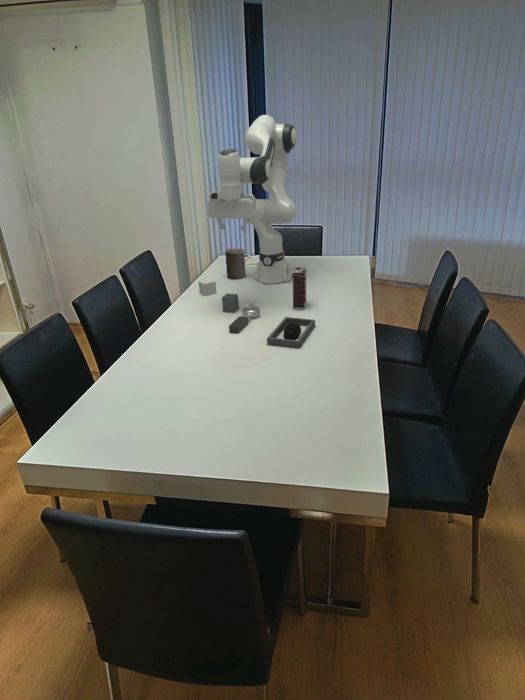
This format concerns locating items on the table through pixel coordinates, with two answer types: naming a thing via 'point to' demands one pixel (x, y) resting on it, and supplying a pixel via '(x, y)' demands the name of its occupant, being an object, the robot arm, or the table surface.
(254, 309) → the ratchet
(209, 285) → the light grey cube
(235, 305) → the blue gray block
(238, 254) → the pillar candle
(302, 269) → the supplement box
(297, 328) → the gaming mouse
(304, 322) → the gray rectangular frame
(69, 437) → the table surface
